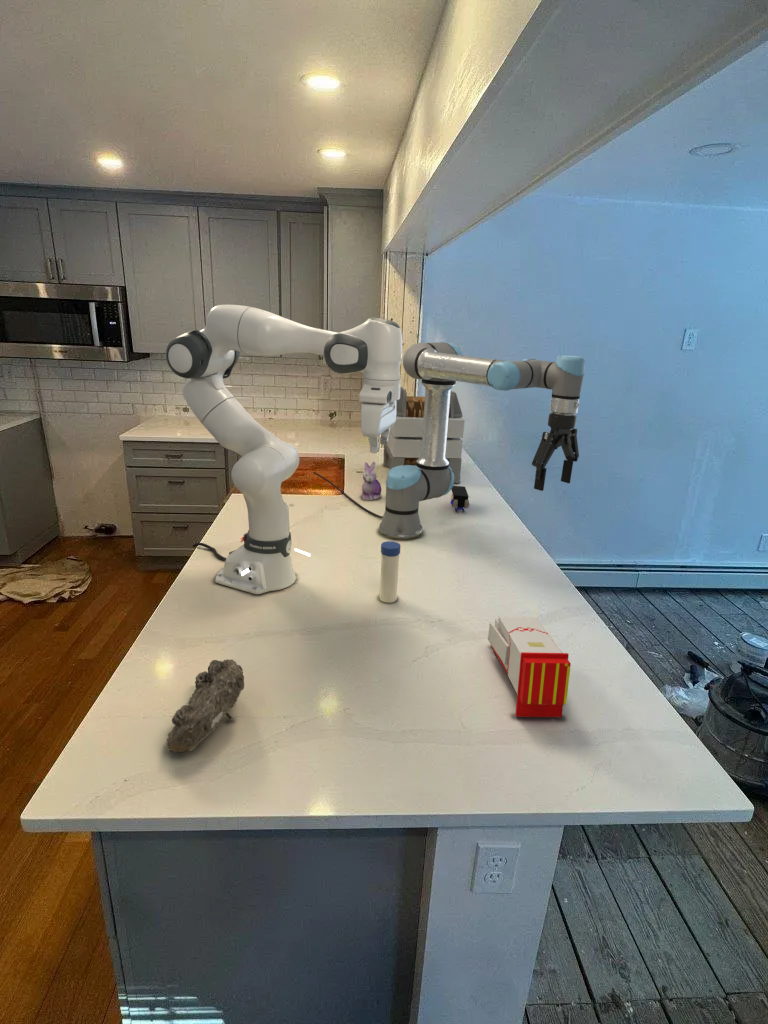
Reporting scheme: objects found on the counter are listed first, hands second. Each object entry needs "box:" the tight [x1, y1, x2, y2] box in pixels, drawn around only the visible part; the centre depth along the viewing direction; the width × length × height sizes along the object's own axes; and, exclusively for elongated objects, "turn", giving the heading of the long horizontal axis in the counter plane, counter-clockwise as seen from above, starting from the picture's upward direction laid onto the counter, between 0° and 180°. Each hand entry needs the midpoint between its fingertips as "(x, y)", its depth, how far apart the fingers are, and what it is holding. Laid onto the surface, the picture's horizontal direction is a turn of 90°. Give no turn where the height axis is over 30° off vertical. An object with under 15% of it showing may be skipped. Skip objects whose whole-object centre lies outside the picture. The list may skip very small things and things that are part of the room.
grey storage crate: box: [383, 386, 465, 484], centre depth 268 cm, size 34×33×41 cm
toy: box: [487, 616, 572, 718], centre depth 123 cm, size 12×13×30 cm
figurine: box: [361, 461, 382, 501], centre depth 234 cm, size 9×10×15 cm
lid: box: [380, 540, 401, 556], centre depth 150 cm, size 5×5×2 cm
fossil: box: [166, 658, 245, 754], centre depth 106 cm, size 22×10×15 cm
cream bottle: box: [379, 553, 400, 603], centre depth 153 cm, size 5×5×16 cm
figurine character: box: [450, 485, 470, 513], centre depth 227 cm, size 7×8×15 cm
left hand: (379, 448), depth 138 cm, fingers open, 8 cm apart
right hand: (552, 485), depth 166 cm, fingers open, 13 cm apart
